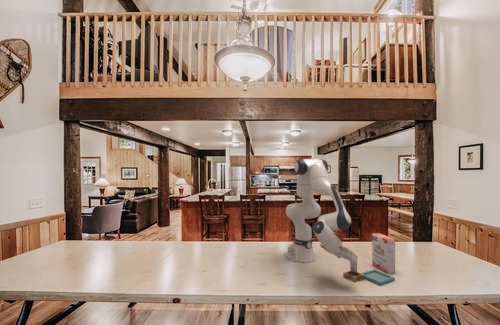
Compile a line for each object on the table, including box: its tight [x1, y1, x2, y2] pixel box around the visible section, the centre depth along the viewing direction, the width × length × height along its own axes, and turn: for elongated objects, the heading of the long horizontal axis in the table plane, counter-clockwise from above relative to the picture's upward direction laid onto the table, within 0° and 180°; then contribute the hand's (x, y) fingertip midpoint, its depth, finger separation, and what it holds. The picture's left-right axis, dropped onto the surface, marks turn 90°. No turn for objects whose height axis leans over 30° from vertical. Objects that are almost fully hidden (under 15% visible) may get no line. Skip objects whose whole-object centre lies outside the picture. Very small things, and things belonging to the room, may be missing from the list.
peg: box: [349, 259, 358, 277], centre depth 149 cm, size 4×4×12 cm
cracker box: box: [371, 232, 396, 275], centre depth 162 cm, size 14×6×21 cm, turn 11°
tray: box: [360, 269, 396, 287], centre depth 148 cm, size 13×13×2 cm
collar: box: [342, 270, 365, 283], centre depth 149 cm, size 8×8×2 cm
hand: (346, 259), depth 146 cm, fingers open, 8 cm apart
